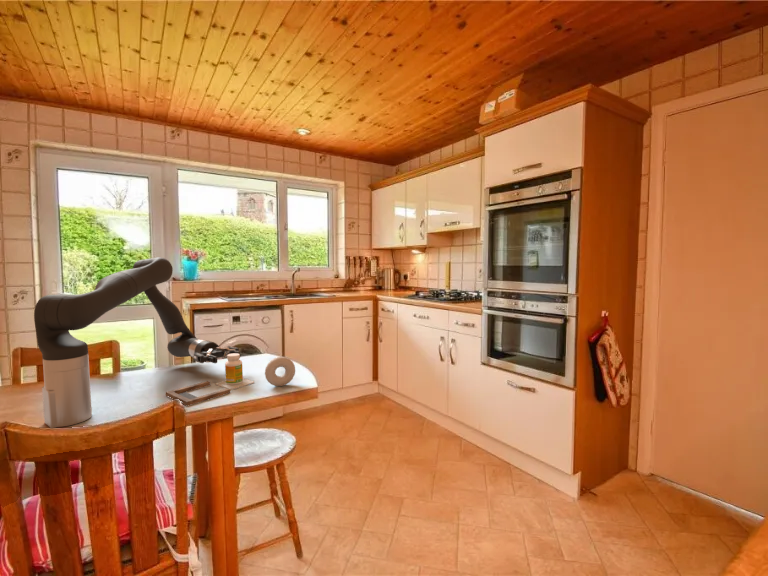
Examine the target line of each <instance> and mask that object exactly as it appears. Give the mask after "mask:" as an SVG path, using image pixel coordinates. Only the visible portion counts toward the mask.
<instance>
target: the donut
mask: <svg viewBox="0 0 768 576" xmlns="http://www.w3.org/2000/svg"><path fill="white" fill-rule="evenodd" d="M278 368H283V369H284V373H283V374H282V375H277V374H276V371H277V369H278ZM264 375H265V379H266V381H267V383H269V384H270V385H272V386H275V387H282V386H287V384H290V383H291V381H292V380H293V379H294V377H295V375H296V366H295V364H294V362H293V360H291V359H290V358H288V357H286V356H277V357H274V358H272V359H271V360H269V362H268V363H267V365H266V366H265V370H264Z"/></svg>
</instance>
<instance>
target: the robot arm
mask: <svg viewBox="0 0 768 576" xmlns="http://www.w3.org/2000/svg"><path fill="white" fill-rule="evenodd" d="M173 270H174V269H173V265H172V263H171V262H170V261H169V260H168V259H166V258H164V257H152V258H145V259H139V260H137V261H136V262H135V263H134V264H133V267H132V268H129V269H124V270H121V271H120V270H119V271H118V272H114V273H111V274H109V275H106V276H105V277H103V278H101V279H100V280H99V281H97V282H96V285H95V288H94V290H92V291H90V292H89V291H88V292H85V293H80V294H47V295H44V296H41V297H40V298H39V300H38V301H36V304H35V307H34V310H33V311H34V312H33V320H34V327H35V334H36V342H37V347H38V349H39V350H40V352H41V357H42V366H43V368H42V369H43V370H42V371H43V381H44V382H43V384H44V386H42V389H41V390H42V404H43V406H42V407H43V418H44V420H43V421H44V424H45V425H46V426H48V428H49V429H55V428H61V427H69V426H72V425H77V424H81V423H82V422H85V421H88V420H89V419H91V417H92V415H93V411H92V410H93V407H92V398H91V397H92V393H91V392H92V391H91V379H90V378H91V377H90V361H89V359H90V358H89V345H88V343H86V342H85V341H83V340H80V339H78V338H76V337H74V336H73V335H72V334H71V333H70V331H78V330H82V329H85V328H87V327H88V326H90V325H92V323H94V322H95V321H97V320H99V318H101V317H102V316H103V315H105V314H107V313H108V312H109V311H111V310H114V309H115V308H117V307H119V306H120V305H123V304H125V303H126V302H128V301H129V300H132V299H134V298H136V296H138V295H140V294H142V293H144V295H145V296H146V297H147V299H148V301H150V304H152V306H153V307H154V309H155V311H156V312H157V314H158V317H159V319H160V320H161V323H162V325H163V328H164V330H165V332H166V333H167V334H168V335H177V334H180V333H181V334H180V335H178V336H176V337H174V338H173V339H171V340H170V341H169V342H168V343H167V351H168V352H169V354H171V355H172V356H173V357H176V358H186V357H191V358H193V361H195V362H198V363H200V364H204V363H208V364H209V363H213V364H217V363H218V359H219V360H220V359H227V355H228V354H233V353H238V354H240V357H241V356H242V355H241V352H240V351H239V350H240V349H239V347H235V346H230V345H228V346H227V347H221V346H219V345H218V344H217V342H214V341H210V340H206V339H200V338H197V336H196V335H194V333H193V332H192V331H191V329H190V328H189V327H188V325H186V323H185V320H184V318H183V316H182V313H181V311H180V309H179V308H178V306H177V305H176V303H175V304H174V302H172V301H171V299H169V298H167V296H165V295H164V294H163V293H162V292H161V291H160V290H159V288H158V287H157V285H160V284H163V283H165V282H168V281H169V280H170V279H171V277H172V275H173Z"/></svg>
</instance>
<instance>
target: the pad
mask: <svg viewBox="0 0 768 576" xmlns="http://www.w3.org/2000/svg"><path fill="white" fill-rule="evenodd" d="M249 384H250V385H252V384H255V381H253V380H251V379H250V380H249V379H246V378H244V377H243V381H242V383H240V384H237V385H228V384H226V380H223V381H220V382H216V383H215V385H216V386H218V387H221V388H223V389H227V388H228V389H230V391H231V390H232V389H233V390H237V389H239V387H240V388H242V387H243V388H244V387H246V386H249ZM233 390H232V391H233Z"/></svg>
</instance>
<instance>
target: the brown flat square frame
mask: <svg viewBox="0 0 768 576" xmlns="http://www.w3.org/2000/svg"><path fill="white" fill-rule="evenodd" d="M210 386H211V381H209V380H206V381H202V382H199V383H194V384H191V385H187V386H183V387H180V388H179V387H178V388H176V389H171V390H168V391H165V397H167V396H169V397H168V398H170V397H171V398H170V399H172V398H173V399H172V400H174V399H179V400H180V401H182V402H183V404H182V405H185V406H186V405H187V406H188V405H189V406H192V405H195V404H198V402H199V403H201V402H205V401H209V400H211V399H215V398H218V397H221V396H224V395H228V394H231V390H230V389H228V388H227V389H226V388H223V389H221V390H217V391H213V392H210V393H206V394H203V395H200V396H195V395H193V394H191V393H189V392H191V391H194V390H198V389H201V388H205V387H210ZM208 399H209V400H208ZM187 406H186V407H187ZM189 406H188V407H189Z"/></svg>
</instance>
